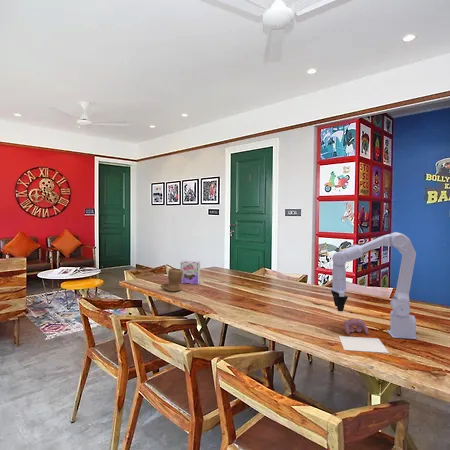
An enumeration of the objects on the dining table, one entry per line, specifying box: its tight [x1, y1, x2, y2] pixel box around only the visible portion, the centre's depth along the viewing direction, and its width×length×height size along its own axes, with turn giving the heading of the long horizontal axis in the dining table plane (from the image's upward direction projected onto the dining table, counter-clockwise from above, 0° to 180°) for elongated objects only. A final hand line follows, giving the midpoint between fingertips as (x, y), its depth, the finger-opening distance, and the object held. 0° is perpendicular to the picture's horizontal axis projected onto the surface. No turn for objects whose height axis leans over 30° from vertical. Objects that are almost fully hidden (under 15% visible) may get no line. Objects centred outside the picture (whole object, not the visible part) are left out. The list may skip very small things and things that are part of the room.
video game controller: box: [342, 318, 369, 336], centre depth 145 cm, size 10×5×7 cm, turn 92°
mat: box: [338, 335, 390, 354], centre depth 132 cm, size 16×14×1 cm
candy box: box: [180, 260, 201, 285], centre depth 246 cm, size 14×6×16 cm, turn 73°
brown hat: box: [160, 267, 183, 292], centre depth 225 cm, size 15×12×15 cm
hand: (338, 308), depth 149 cm, fingers open, 7 cm apart
